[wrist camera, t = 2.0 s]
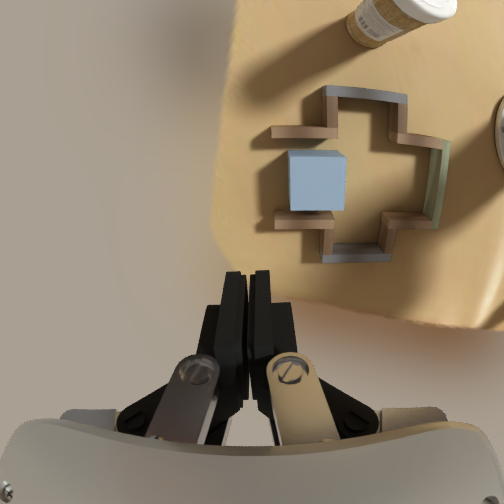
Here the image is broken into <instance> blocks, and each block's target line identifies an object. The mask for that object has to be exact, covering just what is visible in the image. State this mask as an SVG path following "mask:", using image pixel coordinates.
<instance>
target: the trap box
mask: <svg viewBox="0 0 504 504" xmlns="http://www.w3.org/2000/svg"><path fill="white" fill-rule="evenodd" d="M338 97H340V98H353V99H364V100H373V101H381V102H388V103H389V115H388V140H390V141H393V142H395V143H399V144H407V145H415V146H422V147H429V148H431V152H430V163H429V172H428V181H427V188H426V196H425V202H424V208H423V213H421V212H392V211H382V215H381V222H380V229H379V236H378V242H377V243H357V244H333V239H334V226H335V219H334V217H333V215H332V213H331V211H274V221H275V230H277V229H320V245H319V253H320V257H321V261H322V263H357V262H391V257H392V252H393V247H394V241H395V236H396V230H397V229H428V230H438V225H439V220H440V215H441V210H442V205H443V199H444V193H445V186H446V179H447V171H448V163H449V153H450V141H447V140H444V139H441V138H437V137H432V136H426V135H419V134H412V133H407V94H401V93H395V92H389V91H382V90H375V89H366V88H357V87H346V86H332V85H325V86H323V87H322V119H323V126H310V125H280V126H271V133H272V138H328V139H338Z"/></svg>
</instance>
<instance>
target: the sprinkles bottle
mask: <svg viewBox="0 0 504 504" xmlns="http://www.w3.org/2000/svg"><path fill="white" fill-rule="evenodd" d="M456 9H457V0H363V2H362V3H361V4H360V5H359V6H358V7H357V9H356V10H355V11H353V12H352V13H351V14H350V15H349V16H348V18H347V21H346V26H347V30H348V32H349V34H350V36H351V37H352V38H353V39H354V40H355V41H356V42H358V43H359V44H361V45H363V46H366V47H371V48H376V47H380V46H382V45H383V44H385V43H386V42H388V41H391V40H394V39H396V38H398V37H401V36H403V35H405V34H407V33H408V32H410V31H412V30H414V29H417V28H419V27H421V26H423V25H426V24H433V23H438V22H441V21H443V20H446V19H448V18H450V17H452V16H453V15H454V14H455V12H456Z"/></svg>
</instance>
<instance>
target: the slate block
mask: <svg viewBox="0 0 504 504" xmlns="http://www.w3.org/2000/svg"><path fill="white" fill-rule="evenodd" d="M345 183H346V157H345V156H344V155H342V154H341V153H340V152H338V151H337V150H288V196H289V203H290V210H291V211H295V210H344V201H345Z"/></svg>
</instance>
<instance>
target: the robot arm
mask: <svg viewBox="0 0 504 504" xmlns="http://www.w3.org/2000/svg"><path fill="white" fill-rule="evenodd" d="M495 140H496V148H497V152H498V157H499V159H500V162H501V165H502V167H503V169H504V98H503V100H502V102H501V104H500V106H499V109H498V112H497V117H496V125H495ZM249 373H250V378H251V388H252V396H253V400H257V403H258V410H259V411H260V412H262V413H263V414H264V415H266V416H267V417H268V418H269V425H270V430H271V435H272V440H273V445H274V446H255V447H254V446H248V447H247V446H245V447H244V446H225V445H226V441H227V437H228V433H229V430H230V426H231V422H232V416H233V415H234V414H235V413H237V412H238V411H239V410H240V408H243V400H248V398H249ZM0 504H504V474H503V471H502V468H501V465H500V462H499V459H498V457H497V454H496V452H495V450H494V448H493V446H492V444H491V442H490V440H489V439H488V437H487V436H486V434H485V433H484V432H483V431H482V430H481V429H480V428H478V427H476V426H474V425H472V424H468V423H463V422H454V421H448V420H447V417H446V414H445V413H444V412H443V411H442V410H441V409H439V408H437V407H414V408H382V409H381V411H378V410H372V409H371V408H370V407H368V406H367V405H365V404H363V403H361V402H359V401H358V400H356V399H354V398H352V397H350V396H349V395H347V394H345V393H344V392H342V391H340V390H338V389H337V388H335V387H333V386H332V385H330V384H328V383H327V382H325V381H323V380H322V379H320V378H318V376H317V374H316V371H315V368H314V365H313V364H312V362H311V360H309V359H308V358H307V357H306V356H304V355H302V354H300V353H297V345H296V337H295V330H294V322H293V315H292V308H291V303H290V302H284V303H271V290H270V273H269V270H260V271H256V272H255V274H253V275H250V289H249V302H248V290H247V279H246V275H241V272H240V271H236V272H226V277H225V282H224V287H223V294H222V299H221V305H208V306H207V308H206V312H205V316H204V321H203V325H202V329H201V334H200V339H199V343H198V348H197V353H196V354H194V355H190V356H188V357H185V358H184V359H182V360H181V361H180V362H179V363H178V365H177V366H176V368H175V370H174V372H173V374H172V376H171V378H170V381H169V383H168V384H166V385H164V386H162V387H161V388H159V389H157V390H156V391H154V392H152V393H151V394H149V395H147V396H146V397H144V398H142V399H140V400H139V401H137V402H135V403H134V404H132V405H130V406H128V407H127V408H125V409H124V410H123V411H122V412H117V410H116V409H107V410H106V409H103V410H87V409H72V410H68V411H66V412H65V413H63V414H62V416H61V417H60V419H52V418H51V419H50V418H48V419H35V420H30V421H27V422H24V423H23V424H21V425H20V426H19V427H18V428H17V429H16V430H15V431H14V433H13V435H12V436H11V438H10V440H9V441H8V443H7V445H6V447H5V450H4V452H3V454H2V457H1V459H0Z"/></svg>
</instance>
